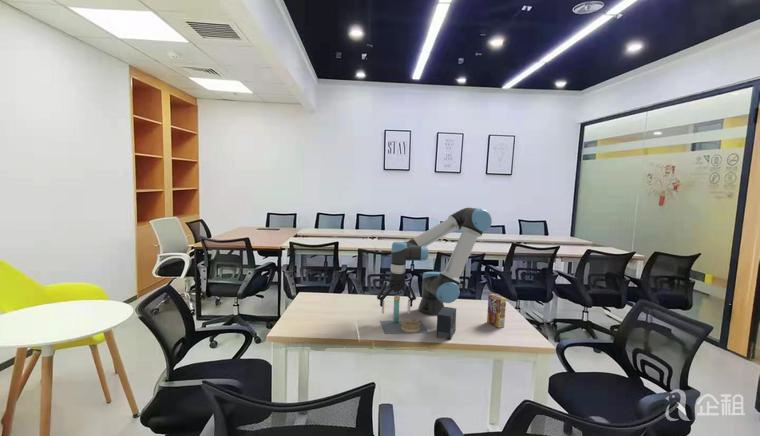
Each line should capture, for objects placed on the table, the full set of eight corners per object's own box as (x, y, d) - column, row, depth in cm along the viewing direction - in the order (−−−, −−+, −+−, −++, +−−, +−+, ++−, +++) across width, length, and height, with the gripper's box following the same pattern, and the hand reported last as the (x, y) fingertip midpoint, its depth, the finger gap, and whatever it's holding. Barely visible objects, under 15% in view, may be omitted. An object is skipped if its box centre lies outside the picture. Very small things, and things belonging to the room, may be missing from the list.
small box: (442, 329, 177) (443, 305, 176) (455, 331, 174) (456, 308, 173) (435, 338, 165) (437, 313, 164) (450, 341, 162) (451, 316, 161)
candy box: (505, 327, 182) (506, 298, 181) (498, 328, 180) (500, 299, 179) (492, 321, 190) (494, 293, 189) (486, 322, 188) (488, 294, 187)
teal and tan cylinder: (398, 321, 183) (399, 295, 182) (399, 323, 180) (400, 297, 179) (392, 321, 183) (393, 295, 182) (393, 323, 180) (394, 297, 179)
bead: (417, 325, 179) (417, 319, 179) (421, 332, 170) (422, 326, 170) (399, 325, 178) (400, 319, 178) (403, 332, 169) (403, 326, 169)
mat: (420, 321, 186) (420, 320, 186) (429, 334, 169) (429, 333, 169) (379, 322, 183) (379, 320, 183) (384, 335, 167) (384, 334, 166)
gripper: (419, 270, 185) (417, 310, 186) (372, 270, 182) (371, 310, 183) (423, 274, 177) (421, 315, 179) (374, 273, 174) (372, 315, 176)
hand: (395, 312), depth 181 cm, fingers open, 13 cm apart
